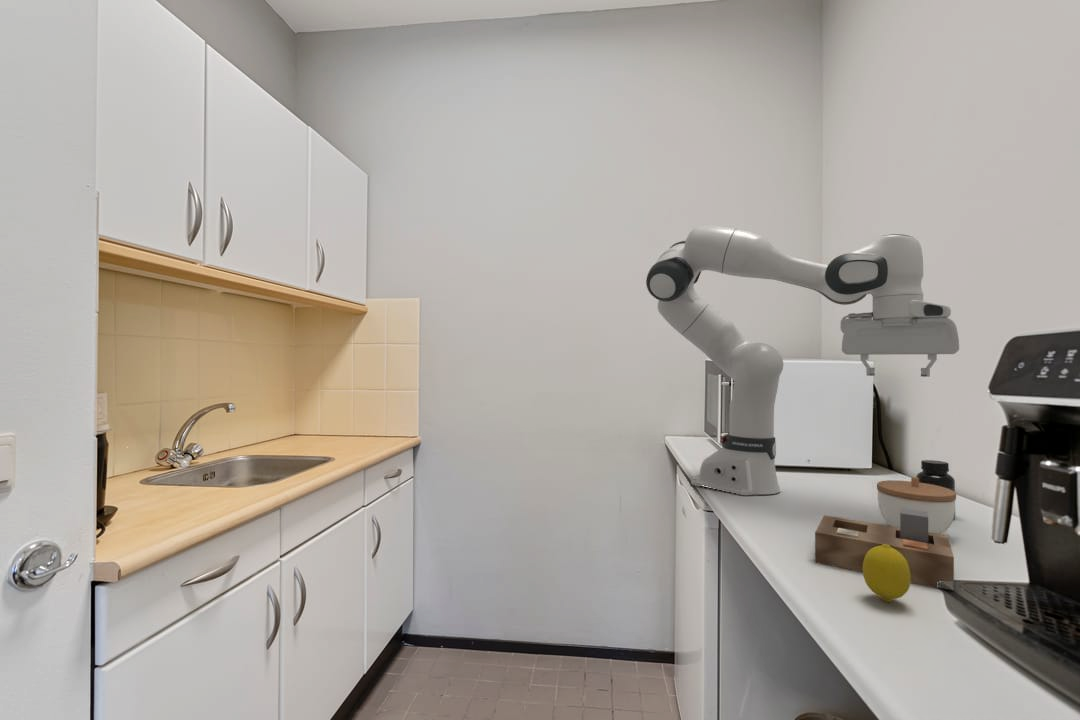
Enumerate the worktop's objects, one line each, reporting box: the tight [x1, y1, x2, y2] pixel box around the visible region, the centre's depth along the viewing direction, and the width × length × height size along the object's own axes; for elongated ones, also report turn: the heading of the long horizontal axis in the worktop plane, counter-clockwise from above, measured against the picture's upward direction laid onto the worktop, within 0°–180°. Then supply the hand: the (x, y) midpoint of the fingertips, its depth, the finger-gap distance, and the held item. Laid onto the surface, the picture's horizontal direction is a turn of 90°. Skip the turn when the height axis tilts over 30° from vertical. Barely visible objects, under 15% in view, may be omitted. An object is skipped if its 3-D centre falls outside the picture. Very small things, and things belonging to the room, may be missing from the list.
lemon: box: [862, 544, 911, 603], centre depth 70 cm, size 6×6×8 cm
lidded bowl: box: [876, 476, 957, 534], centre depth 99 cm, size 13×13×11 cm
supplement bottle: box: [916, 459, 956, 519], centre depth 111 cm, size 7×7×12 cm
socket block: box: [814, 514, 955, 589], centre depth 83 cm, size 18×12×5 cm, turn 54°
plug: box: [900, 508, 928, 543], centre depth 82 cm, size 4×4×9 cm
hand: (897, 376), depth 106 cm, fingers open, 8 cm apart
